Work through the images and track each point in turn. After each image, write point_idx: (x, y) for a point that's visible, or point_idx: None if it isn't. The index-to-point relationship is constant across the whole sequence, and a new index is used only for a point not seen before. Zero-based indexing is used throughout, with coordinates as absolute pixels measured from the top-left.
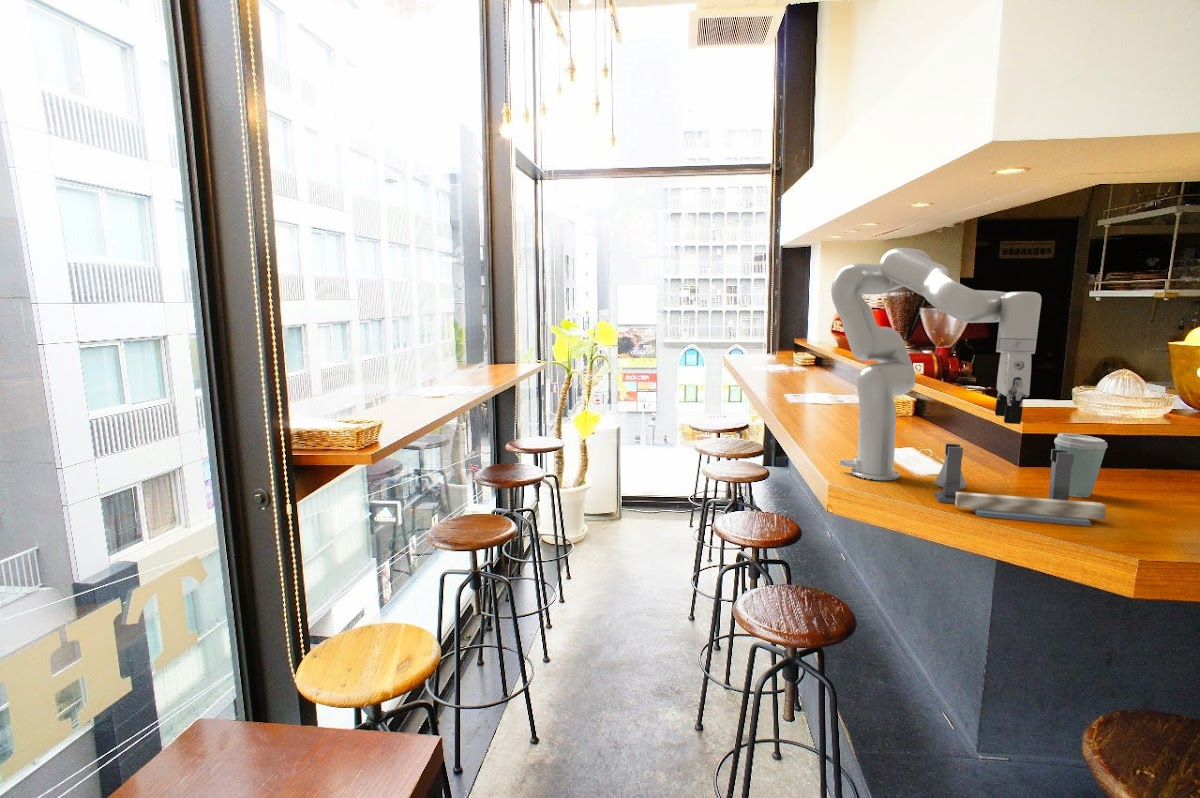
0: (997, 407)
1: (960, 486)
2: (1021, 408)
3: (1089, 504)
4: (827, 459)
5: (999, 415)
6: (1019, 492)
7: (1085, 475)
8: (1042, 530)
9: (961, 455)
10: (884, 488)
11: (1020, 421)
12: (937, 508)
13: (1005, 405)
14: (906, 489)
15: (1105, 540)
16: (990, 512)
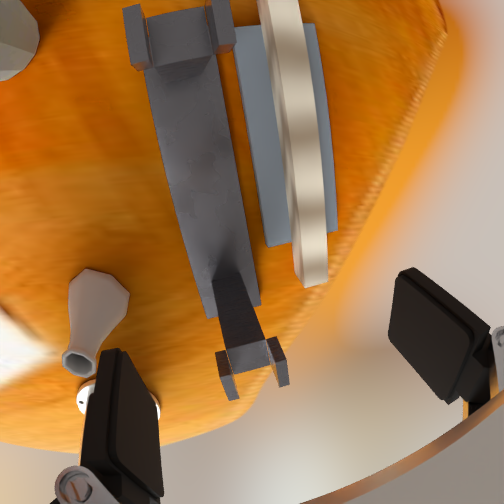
0: (158, 448)
1: (112, 281)
2: (480, 324)
3: (296, 10)
4: (73, 447)
5: (149, 394)
6: (55, 155)
7: (22, 10)
8: (376, 120)
9: (279, 344)
10: (203, 381)
11: (419, 274)
12: (304, 292)
13: (139, 440)
14: (186, 356)
15: (387, 33)
16: (331, 208)
